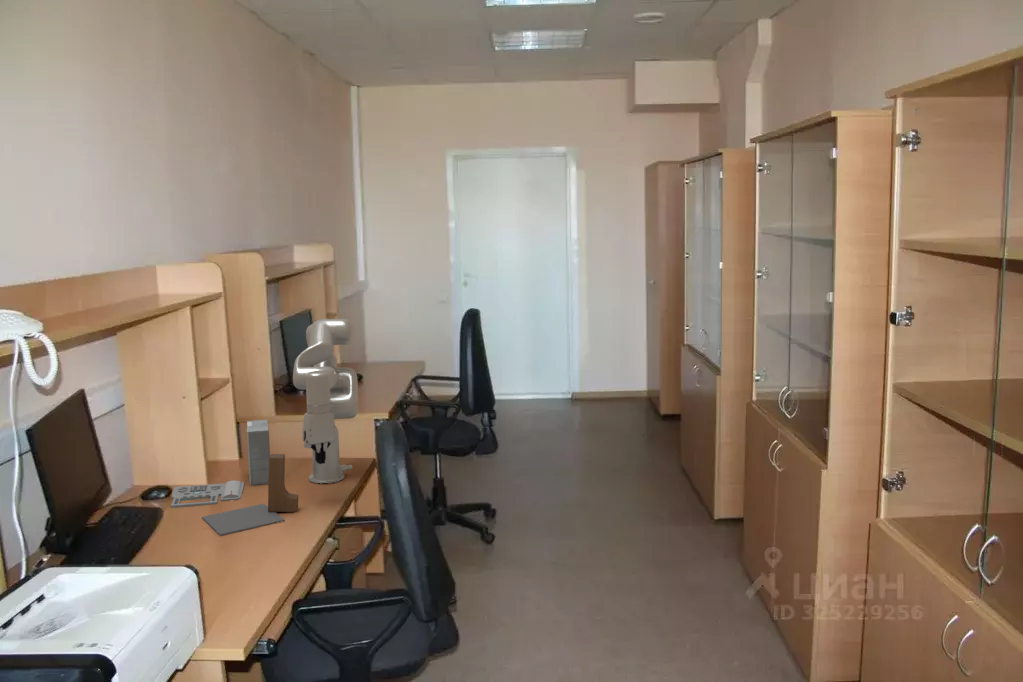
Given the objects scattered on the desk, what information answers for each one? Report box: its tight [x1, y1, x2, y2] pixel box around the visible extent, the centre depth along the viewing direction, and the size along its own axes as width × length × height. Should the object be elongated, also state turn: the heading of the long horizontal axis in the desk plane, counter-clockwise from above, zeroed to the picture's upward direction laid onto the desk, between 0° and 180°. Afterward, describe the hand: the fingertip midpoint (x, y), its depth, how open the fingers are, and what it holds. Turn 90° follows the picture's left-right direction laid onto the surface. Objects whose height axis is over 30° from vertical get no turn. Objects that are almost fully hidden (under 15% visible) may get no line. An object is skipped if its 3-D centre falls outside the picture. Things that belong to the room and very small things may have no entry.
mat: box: [201, 503, 286, 537], centre depth 256 cm, size 20×18×1 cm
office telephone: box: [170, 480, 245, 509], centre depth 278 cm, size 23×3×20 cm
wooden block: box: [267, 453, 299, 513], centre depth 262 cm, size 9×4×18 cm, turn 99°
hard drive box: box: [246, 419, 271, 486], centre depth 295 cm, size 16×8×20 cm, turn 17°
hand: (320, 462), depth 269 cm, fingers closed
